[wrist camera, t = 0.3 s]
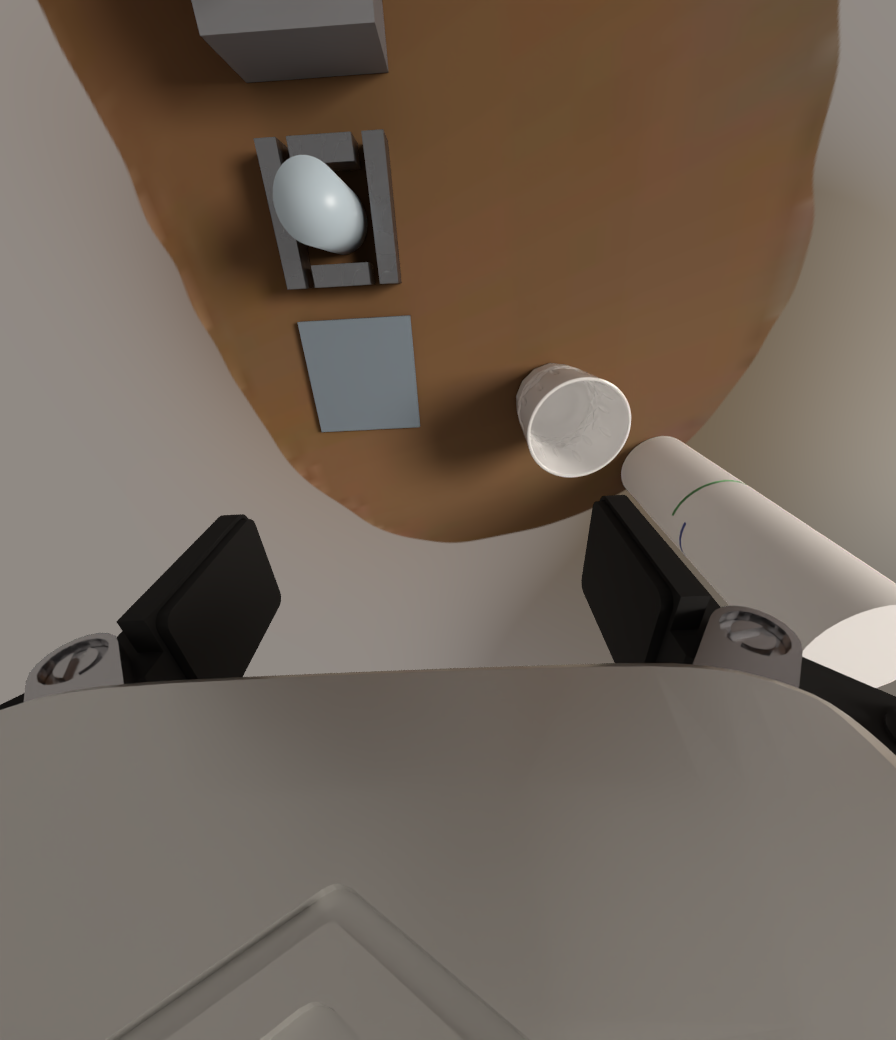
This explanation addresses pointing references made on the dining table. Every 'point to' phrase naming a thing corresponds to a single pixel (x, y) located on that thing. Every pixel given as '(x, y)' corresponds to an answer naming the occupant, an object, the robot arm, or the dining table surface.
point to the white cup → (572, 419)
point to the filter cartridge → (318, 206)
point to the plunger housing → (295, 37)
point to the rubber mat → (362, 372)
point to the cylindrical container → (768, 559)
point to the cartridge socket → (344, 156)
